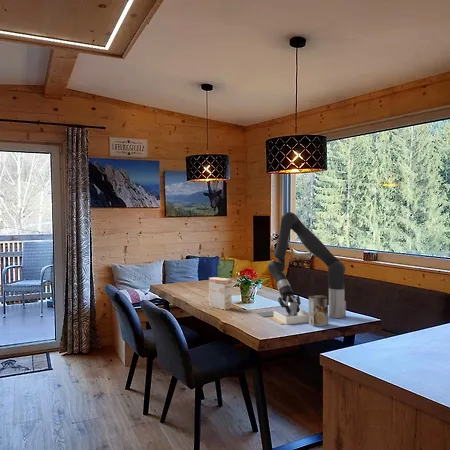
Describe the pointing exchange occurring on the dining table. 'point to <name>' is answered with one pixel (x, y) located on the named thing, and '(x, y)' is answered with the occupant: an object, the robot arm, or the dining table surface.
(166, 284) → the dining table surface
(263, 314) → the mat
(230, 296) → the coffeecake box
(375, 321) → the dining table surface
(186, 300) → the dining table surface
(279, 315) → the white rectangular tray
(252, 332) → the dining table surface
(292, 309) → the tin can
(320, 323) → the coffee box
